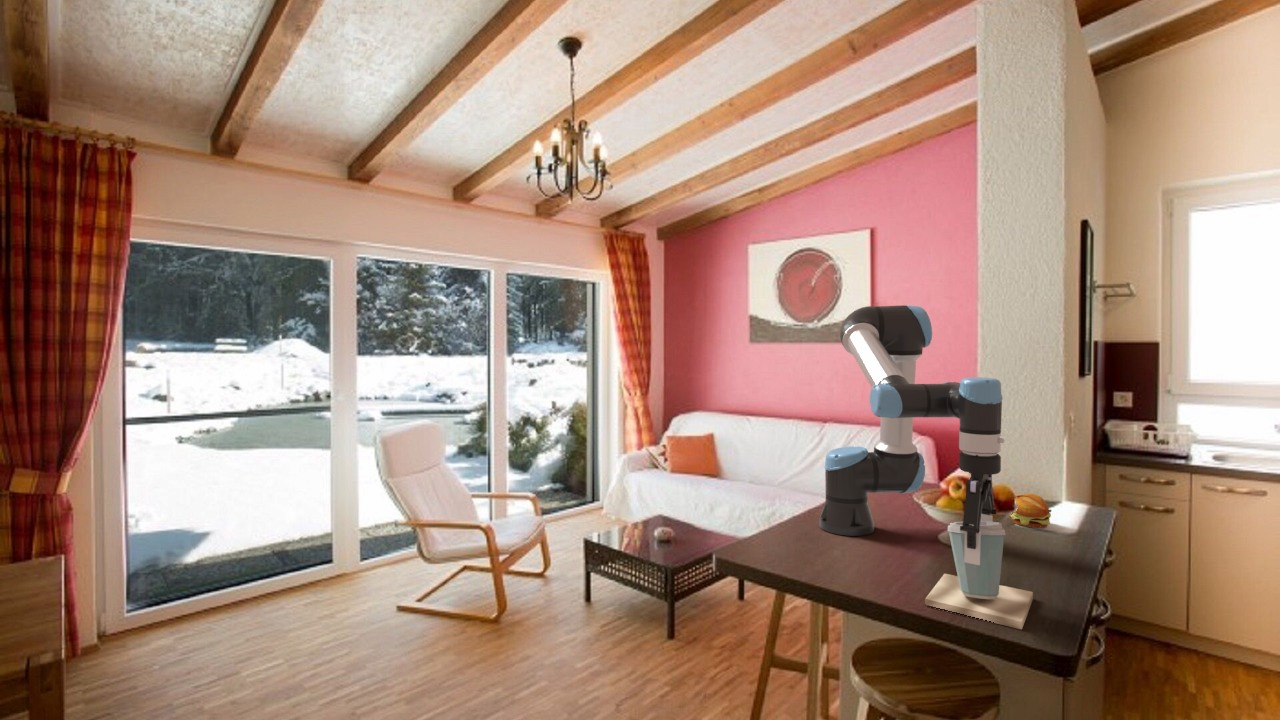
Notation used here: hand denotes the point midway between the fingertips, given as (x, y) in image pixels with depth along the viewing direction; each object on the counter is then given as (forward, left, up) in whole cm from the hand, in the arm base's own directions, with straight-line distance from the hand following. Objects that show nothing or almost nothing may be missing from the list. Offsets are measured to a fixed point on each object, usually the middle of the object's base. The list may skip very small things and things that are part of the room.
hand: (978, 553), depth 126 cm
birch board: (0, 0, -10) cm, 10 cm away
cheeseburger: (+2, +68, -10) cm, 69 cm away
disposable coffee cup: (0, -2, -8) cm, 9 cm away
